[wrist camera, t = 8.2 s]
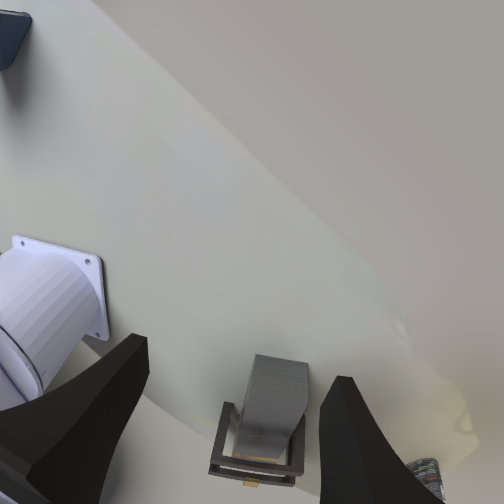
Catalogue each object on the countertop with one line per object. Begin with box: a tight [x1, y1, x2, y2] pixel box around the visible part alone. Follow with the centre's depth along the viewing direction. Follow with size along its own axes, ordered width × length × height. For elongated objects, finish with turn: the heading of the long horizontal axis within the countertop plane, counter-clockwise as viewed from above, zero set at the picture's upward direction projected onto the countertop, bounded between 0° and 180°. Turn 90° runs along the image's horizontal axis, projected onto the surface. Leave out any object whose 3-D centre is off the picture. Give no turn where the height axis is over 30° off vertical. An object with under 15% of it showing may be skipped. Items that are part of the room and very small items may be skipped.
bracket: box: [210, 402, 305, 477], centre depth 23 cm, size 7×1×6 cm, turn 81°
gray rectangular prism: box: [231, 354, 308, 464], centre depth 24 cm, size 4×11×4 cm, turn 171°
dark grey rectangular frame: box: [208, 432, 295, 487], centre depth 24 cm, size 7×1×7 cm, turn 81°
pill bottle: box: [406, 459, 446, 503], centre depth 25 cm, size 6×6×11 cm
